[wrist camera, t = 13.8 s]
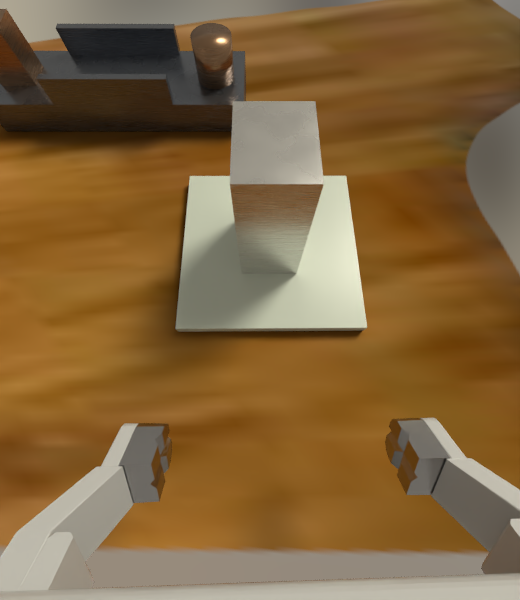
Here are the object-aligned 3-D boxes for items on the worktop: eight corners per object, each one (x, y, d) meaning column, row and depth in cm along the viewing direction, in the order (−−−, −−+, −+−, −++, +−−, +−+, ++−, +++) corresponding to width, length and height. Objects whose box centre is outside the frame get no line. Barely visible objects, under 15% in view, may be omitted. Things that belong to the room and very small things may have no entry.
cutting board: (178, 331, 20) (175, 328, 19) (191, 183, 24) (189, 176, 23) (363, 330, 20) (367, 327, 19) (343, 182, 24) (346, 175, 24)
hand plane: (6, 131, 26) (-71, 48, 20) (27, 79, 28) (-37, -9, 22) (245, 131, 26) (241, 49, 20) (245, 80, 29) (242, -8, 22)
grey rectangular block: (241, 274, 20) (229, 184, 12) (242, 216, 22) (232, 101, 14) (296, 273, 20) (323, 184, 12) (293, 215, 22) (315, 101, 14)
